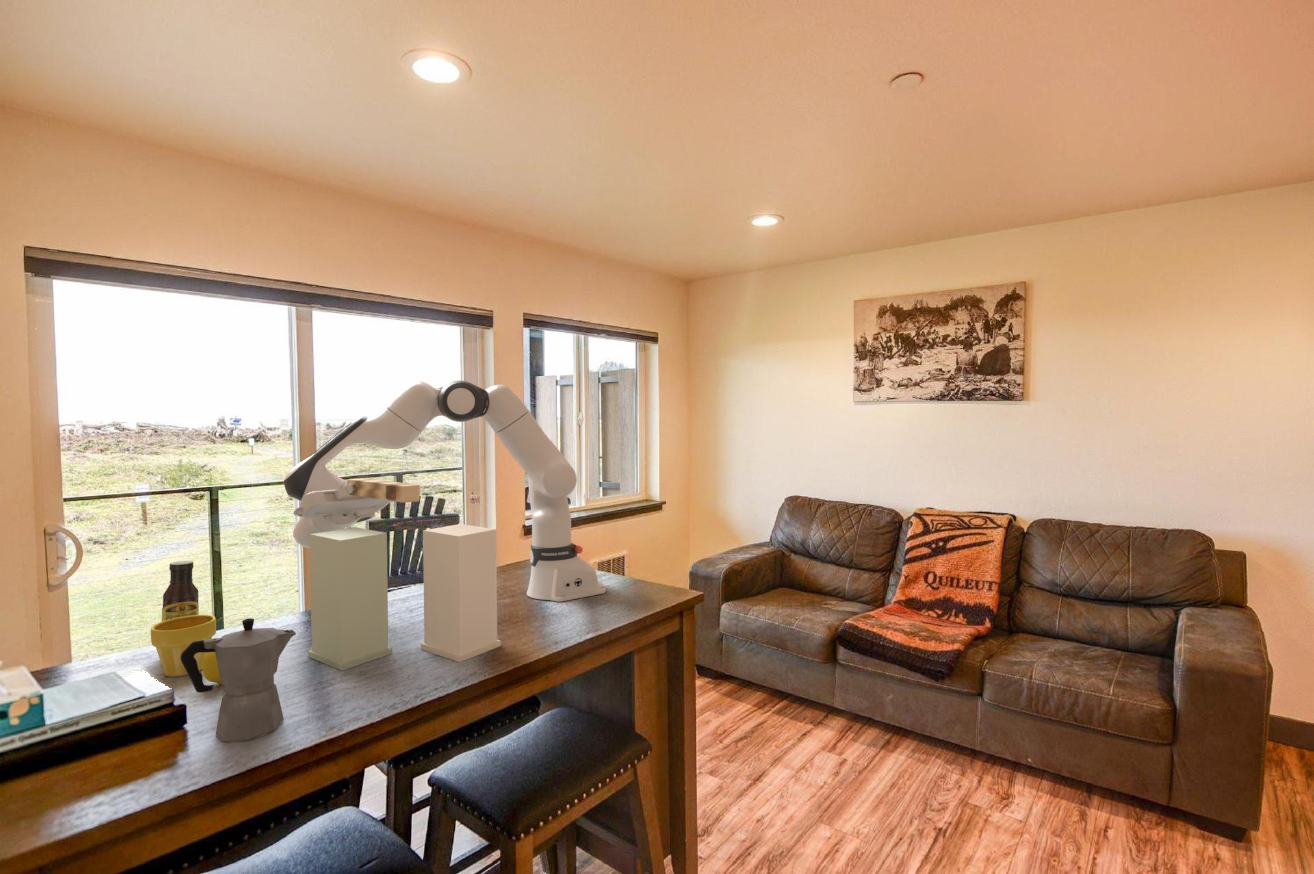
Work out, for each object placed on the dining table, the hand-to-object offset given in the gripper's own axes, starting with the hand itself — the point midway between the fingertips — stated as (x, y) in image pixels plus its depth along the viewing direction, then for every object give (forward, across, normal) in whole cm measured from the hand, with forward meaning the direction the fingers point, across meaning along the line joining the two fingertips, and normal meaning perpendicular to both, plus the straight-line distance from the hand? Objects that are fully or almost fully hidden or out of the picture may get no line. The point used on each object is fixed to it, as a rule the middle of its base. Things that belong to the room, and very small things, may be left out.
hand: (363, 485), depth 142 cm
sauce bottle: (-37, -28, +20) cm, 50 cm away
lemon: (-16, -30, +32) cm, 46 cm away
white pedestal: (+3, +8, +42) cm, 43 cm away
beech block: (+5, 0, +6) cm, 8 cm away
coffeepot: (+3, -35, +43) cm, 55 cm away
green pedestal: (-11, -8, +34) cm, 37 cm away
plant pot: (-28, -31, +25) cm, 48 cm away
